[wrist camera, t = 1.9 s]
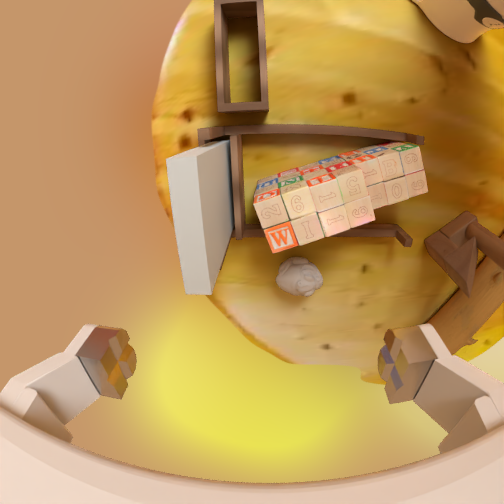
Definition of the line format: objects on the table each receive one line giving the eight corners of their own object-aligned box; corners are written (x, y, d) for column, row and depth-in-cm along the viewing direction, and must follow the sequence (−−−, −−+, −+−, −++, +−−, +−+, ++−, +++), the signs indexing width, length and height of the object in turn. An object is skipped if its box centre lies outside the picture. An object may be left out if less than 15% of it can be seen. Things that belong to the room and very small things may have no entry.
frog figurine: (317, 279, 46) (323, 304, 40) (276, 282, 47) (276, 307, 41) (317, 246, 44) (325, 268, 38) (273, 249, 45) (274, 271, 38)
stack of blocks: (391, 139, 36) (433, 148, 25) (400, 177, 38) (441, 200, 27) (256, 180, 40) (251, 204, 29) (271, 218, 42) (272, 255, 31)
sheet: (215, 140, 38) (166, 159, 20) (231, 139, 37) (196, 156, 20) (220, 219, 43) (185, 294, 25) (236, 218, 43) (211, 294, 25)
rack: (204, 127, 37) (178, 131, 26) (405, 133, 35) (448, 141, 24) (212, 231, 44) (194, 269, 33) (396, 231, 42) (429, 266, 31)
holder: (221, 13, 29) (213, -2, 23) (263, 11, 28) (262, -5, 23) (225, 113, 36) (217, 111, 30) (268, 111, 35) (268, 109, 30)
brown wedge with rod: (423, 239, 42) (479, 298, 26) (465, 209, 39) (530, 254, 23) (428, 255, 43) (481, 315, 27) (470, 225, 40) (530, 273, 24)
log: (510, 205, 37) (541, 224, 28) (522, 232, 39) (549, 252, 30) (395, 339, 52) (410, 373, 43) (416, 353, 54) (431, 384, 45)
